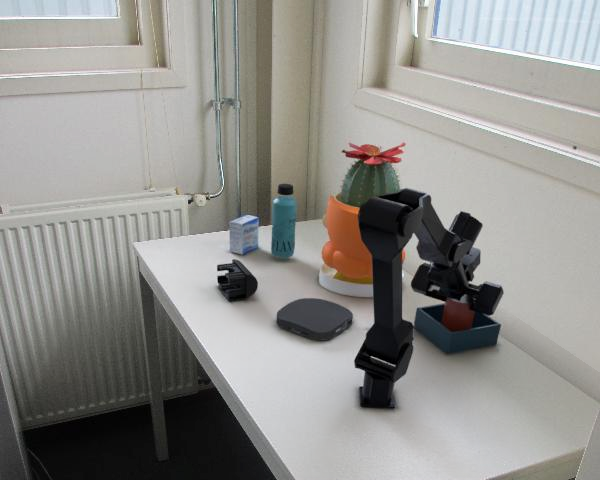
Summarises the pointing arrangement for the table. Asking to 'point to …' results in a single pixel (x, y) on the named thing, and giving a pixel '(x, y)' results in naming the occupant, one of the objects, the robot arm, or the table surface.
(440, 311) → the tote
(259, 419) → the table surface
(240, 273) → the end cap
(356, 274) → the potted cactus
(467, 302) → the tin can
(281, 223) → the beverage bottle
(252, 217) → the medicine box
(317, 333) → the media streaming box
